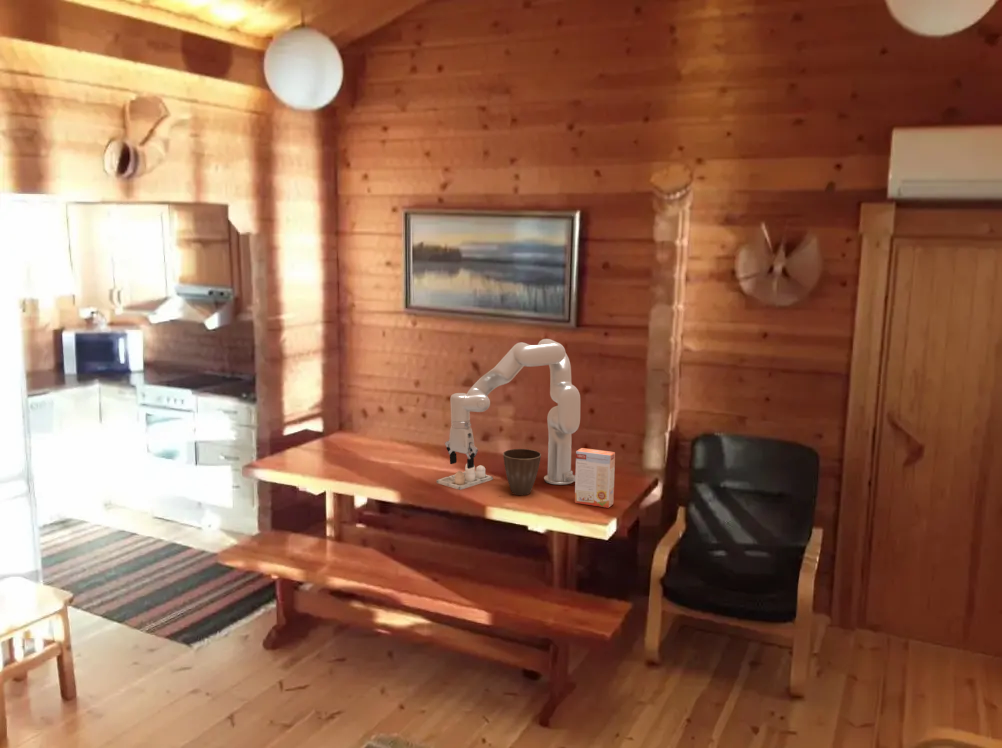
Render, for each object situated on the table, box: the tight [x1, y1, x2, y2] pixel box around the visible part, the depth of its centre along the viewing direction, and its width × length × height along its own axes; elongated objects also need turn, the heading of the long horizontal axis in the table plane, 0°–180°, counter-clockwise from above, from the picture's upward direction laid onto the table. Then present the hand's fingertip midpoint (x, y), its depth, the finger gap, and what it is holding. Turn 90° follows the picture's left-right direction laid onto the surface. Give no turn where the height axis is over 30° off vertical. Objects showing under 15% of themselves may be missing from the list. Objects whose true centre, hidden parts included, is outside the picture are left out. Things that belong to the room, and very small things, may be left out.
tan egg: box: [454, 471, 465, 486], centre depth 351 cm, size 4×4×6 cm
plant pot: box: [502, 448, 542, 496], centre depth 346 cm, size 15×15×16 cm
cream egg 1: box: [464, 463, 476, 473], centre depth 364 cm, size 4×4×6 cm
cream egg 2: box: [465, 468, 476, 483], centre depth 355 cm, size 4×4×6 cm
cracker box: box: [574, 447, 616, 509], centre depth 333 cm, size 14×6×21 cm, turn 63°
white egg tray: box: [436, 471, 494, 491], centre depth 358 cm, size 13×19×2 cm
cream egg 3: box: [475, 464, 486, 479], centre depth 360 cm, size 4×4×6 cm
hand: (461, 465), depth 350 cm, fingers open, 9 cm apart
